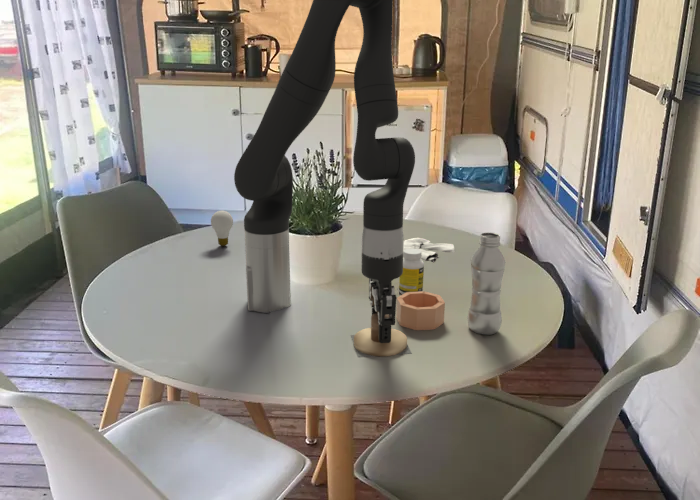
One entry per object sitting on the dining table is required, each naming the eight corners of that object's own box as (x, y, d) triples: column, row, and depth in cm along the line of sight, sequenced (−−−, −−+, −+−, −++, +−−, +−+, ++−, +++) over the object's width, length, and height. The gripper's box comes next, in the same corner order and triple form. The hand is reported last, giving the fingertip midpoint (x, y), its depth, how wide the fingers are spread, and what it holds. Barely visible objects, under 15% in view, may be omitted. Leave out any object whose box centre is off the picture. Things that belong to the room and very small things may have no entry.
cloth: (412, 237, 195) (412, 229, 195) (482, 252, 183) (482, 243, 182) (372, 256, 180) (372, 247, 179) (445, 273, 168) (446, 264, 167)
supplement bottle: (421, 297, 151) (423, 255, 148) (397, 295, 152) (398, 254, 149) (423, 288, 156) (425, 248, 153) (400, 286, 157) (401, 246, 154)
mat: (357, 359, 123) (357, 356, 123) (350, 338, 132) (350, 335, 132) (411, 356, 125) (411, 353, 125) (401, 334, 133) (401, 332, 133)
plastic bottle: (493, 341, 131) (501, 242, 124) (461, 333, 134) (467, 236, 128) (505, 329, 136) (513, 233, 129) (473, 321, 139) (480, 228, 133)
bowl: (403, 333, 134) (403, 310, 132) (393, 315, 142) (394, 292, 141) (447, 330, 135) (448, 307, 133) (435, 312, 143) (436, 290, 142)
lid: (358, 358, 123) (358, 329, 121) (350, 334, 132) (350, 307, 130) (412, 354, 124) (413, 326, 122) (400, 331, 134) (401, 304, 132)
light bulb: (232, 250, 182) (230, 213, 179) (210, 249, 182) (208, 213, 179) (236, 243, 188) (234, 208, 185) (214, 242, 188) (212, 207, 185)
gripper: (355, 238, 128) (355, 319, 134) (368, 263, 115) (367, 352, 120) (394, 236, 129) (392, 317, 135) (412, 261, 116) (409, 350, 121)
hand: (381, 333), depth 128 cm, fingers open, 6 cm apart
